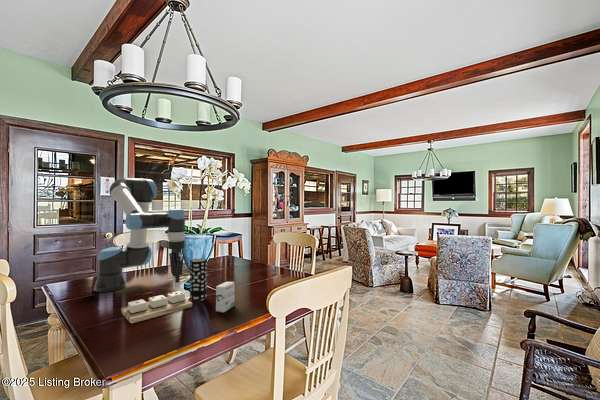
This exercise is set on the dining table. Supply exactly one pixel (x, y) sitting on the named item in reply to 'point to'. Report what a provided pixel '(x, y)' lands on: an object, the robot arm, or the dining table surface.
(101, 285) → the robot arm
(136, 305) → the one pip tile
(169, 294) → the three pip tile
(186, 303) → the button board
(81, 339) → the dining table surface
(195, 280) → the spotted tube
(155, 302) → the two pip tile
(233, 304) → the ink box
